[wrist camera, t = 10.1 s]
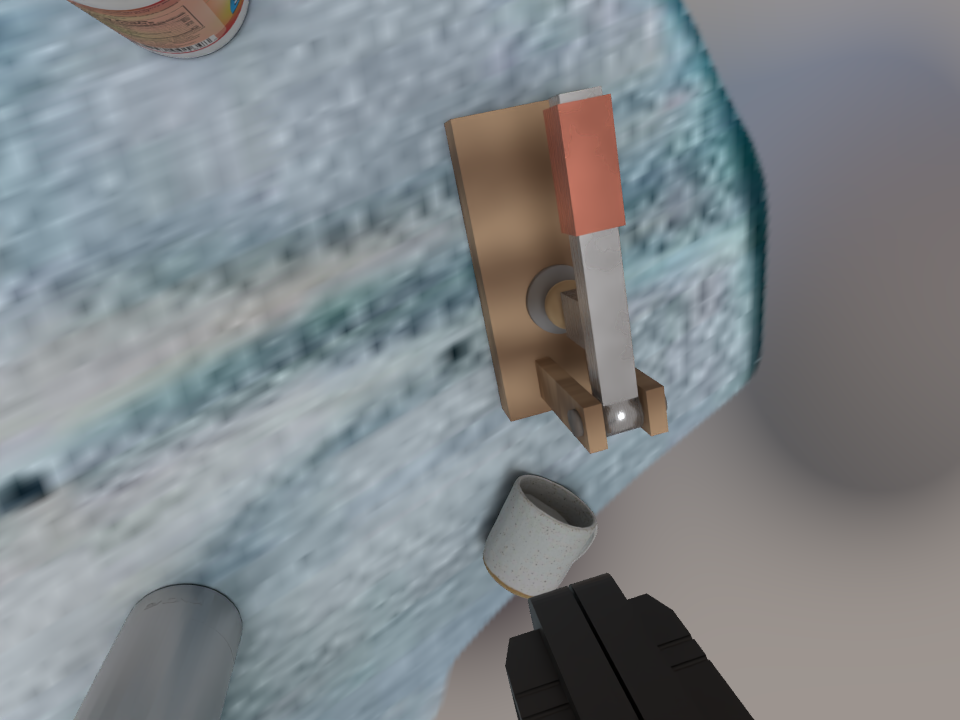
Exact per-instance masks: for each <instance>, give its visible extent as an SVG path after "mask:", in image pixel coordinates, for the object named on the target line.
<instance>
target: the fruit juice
mask: <svg viewBox="0 0 960 720" xmlns="http://www.w3.org/2000/svg"><path fill="white" fill-rule="evenodd" d="M67 1H69V2H71V3H72V4H74V5H75V6H77V7H78V8H80V9H82V10H83V11H85V12H86V13H88V14H89V15H91V16H92V17H94V18H96V19H97V20H99V21H100V22H102V23H103V24H105V25H107V26H108V27H110V28H111V29H113V30H114V31H116V32H118V33H119V34H121V35H122V36H124V37H125V38H127V39H129V40H130V41H132V42H133V43H135V44H137V45H138V46H140V47H142V48H144V49H146V50H149V51H151V52H154V53H157V54H160V55H164V56H169V57H174V58H195V57H200V56H204V55H207V54H210V53H212V52H214V51H216V50H218V49H220V48H221V47H223V46H224V45H225V44H227V43H228V42H229V41H230V40H231V39H232V38H233V37H234V35H235V34H236V33H237V31H238V30H239V28H240V27H241V25H242V23H243V21H244V18H245V16H246V12H247V9H248V4H249V0H67Z"/></svg>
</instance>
